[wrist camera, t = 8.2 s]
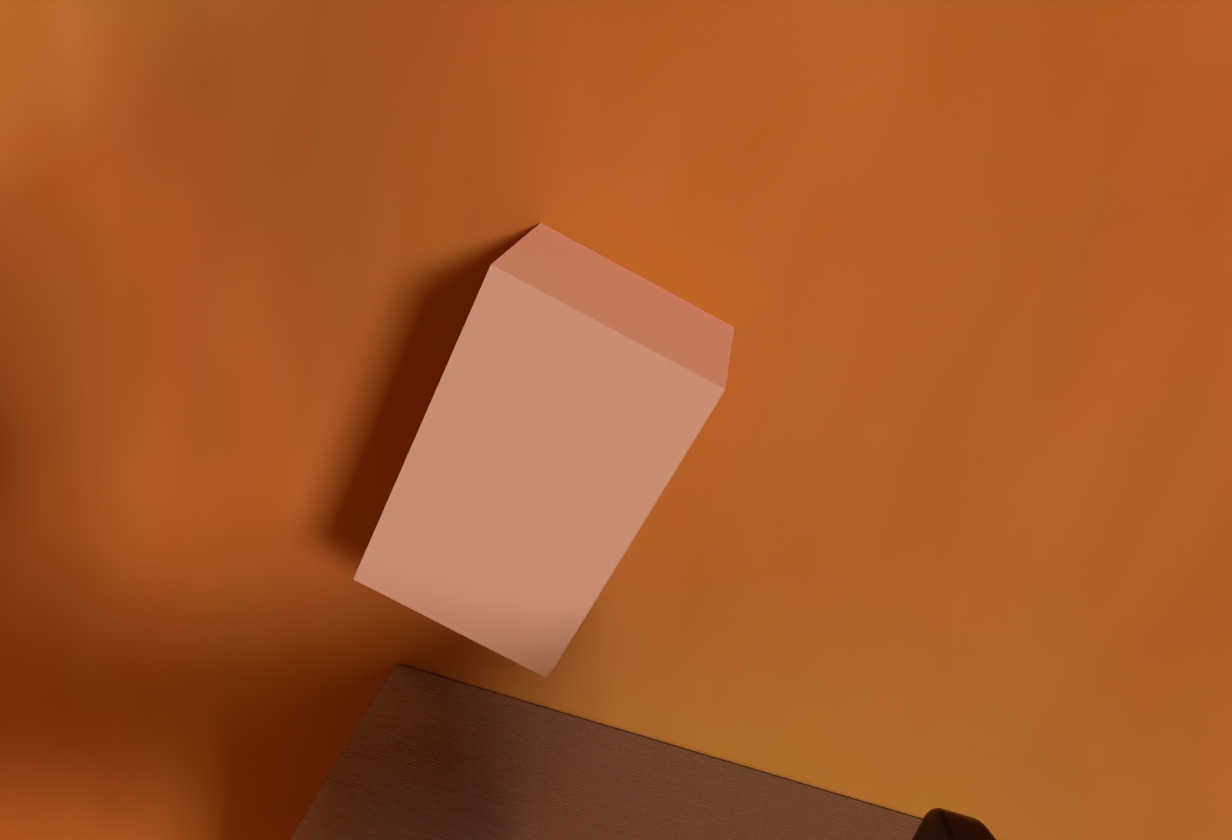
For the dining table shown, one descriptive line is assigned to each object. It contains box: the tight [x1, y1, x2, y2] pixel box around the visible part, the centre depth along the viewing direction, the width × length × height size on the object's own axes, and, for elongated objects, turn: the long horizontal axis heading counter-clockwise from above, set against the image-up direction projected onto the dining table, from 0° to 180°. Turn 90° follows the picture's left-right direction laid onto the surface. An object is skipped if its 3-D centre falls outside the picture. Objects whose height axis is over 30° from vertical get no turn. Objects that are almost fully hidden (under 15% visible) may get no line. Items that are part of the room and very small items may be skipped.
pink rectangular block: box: [354, 223, 734, 678], centre depth 12 cm, size 3×5×2 cm, turn 153°
